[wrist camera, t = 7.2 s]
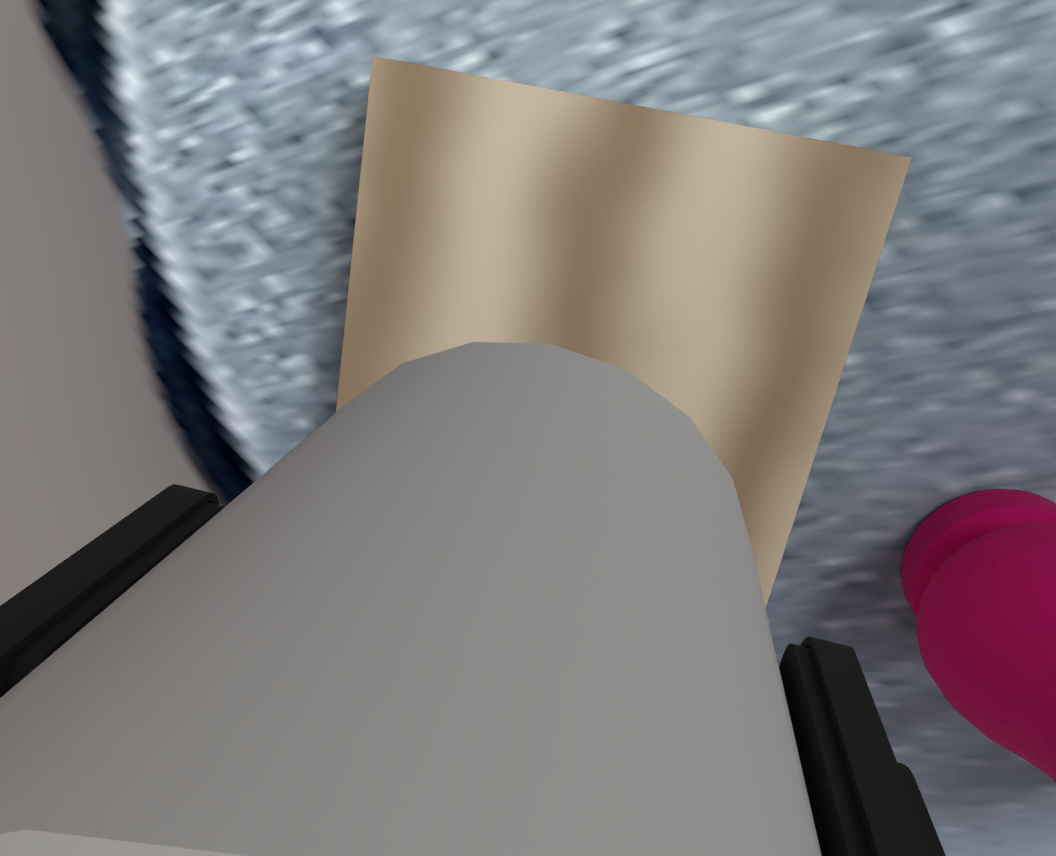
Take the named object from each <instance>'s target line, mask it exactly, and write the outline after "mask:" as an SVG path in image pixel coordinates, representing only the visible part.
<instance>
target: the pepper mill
mask: <svg viewBox="0 0 1056 856" xmlns="http://www.w3.org/2000/svg"><path fill="white" fill-rule="evenodd" d="M901 579H902V586H903V589H904V593H905V596H906V598H907V600H908V602H909V604H910V606H911V608H912V610H913V612H914V613H915V615H916V617H917V638H918V643H919V648H920V652H921V656H922V659H923V661H924V664H925V666H926V669H927V670H928V672H929V674H930V675H931V677H932V678H933V680H934V681H935V683H936V684H937V686H938V687H939V689H940V690H941V692H942V693H943V695H944V696H945V698H946V699H947V700H948V701H949V702H950V704H951V705H952V706H953V707H954V708H955V709H956V710H957V711H958V712H959V713H960V714H961V715H962V716H963V717H964V718H966V719H967V720H968V721H969V722H970V723H972V724H973V725H974V726H975V727H976V728H978V729H979V730H980V731H981V732H982V733H984V734H985V735H986V736H987V737H988V738H990V739H991V740H993V741H995V742H996V743H998V744H1000V745H1002V746H1003V747H1005V748H1007V749H1008V750H1010V751H1012V752H1014V753H1015V754H1017V755H1019V756H1020V757H1022V758H1024V759H1026V760H1027V761H1029V762H1030V763H1032V764H1033V765H1035V766H1036V767H1038V768H1039V769H1041V770H1042V771H1044V772H1045V773H1047V774H1048V775H1049V776H1050V777H1051V778H1053V779H1054V780H1055V781H1056V504H1055V503H1053V502H1052V501H1049V500H1047V499H1045V498H1043V497H1041V496H1039V495H1036V494H1033V493H1030V492H1026V491H1020V490H1009V489H995V490H984V491H979V492H975V493H971V494H968V495H965V496H962V497H960V498H957V499H955V500H953V501H950V502H949V503H947V504H945V505H943V506H942V507H940V508H939V509H937V510H936V511H935V512H933V513H932V514H931V515H930V516H929V517H927V518H926V519H925V520H924V521H923V522H922V523H921V524H920V526H919V527H918V528H917V529H916V531H915V532H914V534H913V535H912V537H911V538H910V540H909V543H908V545H907V547H906V549H905V552H904V555H903V559H902V565H901Z"/></svg>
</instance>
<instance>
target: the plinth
mask: <svg viewBox="0 0 1056 856" xmlns="http://www.w3.org/2000/svg"><path fill="white" fill-rule="evenodd" d="M911 159H912V157H907V156H902V155H897V154H891V153H886V152H881V151H875V150H870V149H865V148H859V147H854V146H849V145H843V144H838V143H833V142H828V141H822V140H817V139H812V138H806V137H801V136H796V135H790V134H785V133H780V132H774V131H769V130H764V129H758V128H753V127H748V126H742V125H737V124H732V123H726V122H721V121H716V120H710V119H705V118H700V117H694V116H689V115H684V114H678V113H673V112H668V111H663V110H657V109H652V108H647V107H641V106H636V105H631V104H625V103H620V102H615V101H609V100H604V99H599V98H593V97H588V96H583V95H577V94H572V93H567V92H561V91H556V90H551V89H545V88H540V87H535V86H529V85H524V84H519V83H514V82H508V81H503V80H498V79H492V78H487V77H482V76H476V75H471V74H466V73H460V72H455V71H450V70H444V69H439V68H434V67H428V66H423V65H418V64H412V63H407V62H402V61H396V60H391V59H386V58H380V57H375V56H373V57H372V66H371V76H370V86H369V95H368V105H367V115H366V125H365V134H364V144H363V154H362V163H361V173H360V183H359V192H358V202H357V212H356V221H355V231H354V241H353V250H352V260H351V270H350V279H349V289H348V299H347V308H346V318H345V328H344V337H343V347H342V357H341V367H340V376H339V386H338V396H337V405H336V412H337V411H339V410H340V409H341V408H342V407H343V406H345V405H346V404H347V403H348V402H350V401H351V400H353V399H354V398H355V397H357V396H358V395H359V394H361V393H362V392H363V391H365V390H366V389H368V388H369V387H370V386H372V385H373V384H374V383H376V382H377V381H378V380H380V379H381V378H383V377H384V376H385V375H387V374H388V373H389V372H391V371H392V370H393V369H395V368H396V367H398V366H399V365H400V364H402V363H405V362H408V361H411V360H415V359H418V358H421V357H424V356H428V355H431V354H434V353H438V352H441V351H444V350H448V349H451V348H454V347H457V346H461V345H464V344H467V343H471V342H498V343H539V344H553V345H556V346H559V347H561V348H564V349H567V350H570V351H573V352H576V353H579V354H582V355H585V356H588V357H591V358H593V359H596V360H599V361H602V362H605V363H608V364H611V365H614V366H617V367H620V368H622V369H625V370H627V371H628V372H630V373H631V374H633V375H634V376H635V377H637V378H638V379H639V380H641V381H642V382H643V383H645V384H646V385H647V386H649V387H650V388H651V389H653V390H654V391H655V392H657V393H658V394H659V395H661V396H662V397H663V398H665V399H666V400H668V401H669V402H670V403H672V404H673V405H674V406H676V407H677V408H678V409H680V410H681V411H682V412H684V413H685V414H686V415H688V416H689V417H690V418H691V420H692V421H693V423H694V424H695V425H696V427H697V428H698V430H699V431H700V433H701V434H702V435H703V437H704V438H705V440H706V441H707V443H708V444H709V445H710V447H711V448H712V450H713V451H714V452H715V454H716V455H717V457H718V458H719V460H720V461H721V462H722V464H723V465H724V467H725V468H726V470H727V471H728V472H729V474H730V475H731V477H732V478H733V481H734V485H735V489H736V492H737V496H738V499H739V503H740V506H741V510H742V514H743V517H744V521H745V524H746V528H747V532H748V535H749V539H750V542H751V546H752V550H753V555H754V559H755V563H756V568H757V572H758V577H759V581H760V585H761V590H762V594H763V599H764V603H765V608H766V606H767V603H768V600H769V597H770V594H771V590H772V587H773V584H774V581H775V578H776V575H777V572H778V569H779V566H780V563H781V560H782V557H783V553H784V550H785V547H786V544H787V541H788V538H789V535H790V532H791V529H792V526H793V523H794V520H795V516H796V513H797V510H798V507H799V504H800V501H801V498H802V495H803V492H804V489H805V486H806V483H807V479H808V476H809V473H810V470H811V467H812V464H813V461H814V458H815V455H816V452H817V449H818V445H819V442H820V439H821V436H822V433H823V430H824V427H825V424H826V421H827V418H828V415H829V412H830V408H831V405H832V402H833V399H834V396H835V393H836V390H837V387H838V384H839V381H840V378H841V375H842V371H843V368H844V365H845V362H846V359H847V356H848V353H849V350H850V347H851V344H852V341H853V338H854V334H855V331H856V328H857V325H858V322H859V319H860V316H861V313H862V310H863V307H864V304H865V301H866V297H867V294H868V291H869V288H870V285H871V282H872V279H873V276H874V273H875V270H876V267H877V264H878V260H879V257H880V254H881V251H882V248H883V245H884V242H885V239H886V236H887V233H888V230H889V227H890V223H891V220H892V217H893V214H894V211H895V208H896V205H897V202H898V199H899V196H900V193H901V190H902V186H903V183H904V180H905V177H906V174H907V171H908V168H909V165H910V162H911Z"/></svg>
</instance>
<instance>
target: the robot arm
mask: <svg viewBox="0 0 1056 856" xmlns="http://www.w3.org/2000/svg"><path fill="white" fill-rule="evenodd" d="M223 508H225V507H223V506H219V502H218V498H217V496H216V495H215V494H214V493H210V492H206V491H201V490H197V489H193V488H188V487H185V486H181V485H175V484H174V485H171V486H169V487H168V488H166V489H165V490H163V491H162V492H160V493H159V494H158V495H156V496H155V497H153V498H152V499H151V500H149V501H148V502H146V503H145V504H144V505H142V506H141V507H139V508H138V509H137V510H135V511H134V512H132V513H131V514H129V515H128V516H127V517H125V518H124V519H122V520H121V521H119V522H118V523H117V524H115V525H114V526H113V527H111V528H110V529H109V530H107V531H105V532H104V533H103V534H101V535H100V536H99V537H97V538H95V539H94V540H93V541H91V542H90V543H88V544H87V545H86V546H84V547H83V548H81V549H80V550H79V551H77V552H76V553H74V554H73V555H71V556H70V557H69V558H67V559H66V560H64V561H63V562H62V563H60V564H59V565H57V566H56V567H55V568H53V569H52V570H50V571H49V572H48V573H46V574H45V575H43V576H42V577H40V578H39V579H38V580H36V581H35V582H34V583H32V584H31V585H29V586H28V587H26V588H25V589H24V590H22V591H21V592H19V593H18V594H16V595H15V596H14V597H12V598H11V599H9V600H8V601H7V602H5V603H4V604H2V605H1V606H0V698H1V697H2V696H3V695H5V694H6V693H7V692H8V691H9V690H10V689H12V688H13V687H14V686H15V685H16V684H18V683H19V682H20V681H21V680H22V679H23V678H25V677H26V676H27V675H28V674H29V673H30V672H32V671H33V670H34V669H35V668H36V667H38V666H39V665H40V664H41V663H42V662H43V661H45V660H46V659H47V658H48V657H49V656H50V655H52V654H53V653H54V652H55V651H56V650H58V649H59V648H60V647H61V646H62V645H63V644H65V643H66V642H67V641H68V640H69V639H70V638H72V637H73V636H74V635H75V634H76V633H78V632H79V631H80V630H81V629H82V628H83V627H85V626H86V625H87V624H88V623H89V622H90V621H92V620H93V619H94V618H95V617H96V616H98V615H99V614H100V613H101V612H102V611H103V610H105V609H106V608H107V607H108V606H109V605H110V604H112V603H113V602H114V601H115V600H116V599H118V598H119V597H120V596H121V595H122V594H123V593H125V592H126V591H127V590H128V589H129V588H130V587H132V586H133V585H134V584H135V583H136V582H138V581H139V580H140V579H141V578H142V577H143V576H145V575H146V574H147V573H148V572H149V571H150V570H152V569H153V568H154V567H155V566H156V565H158V564H159V563H160V562H161V561H162V560H163V559H165V558H166V557H167V556H168V555H169V554H170V553H172V552H173V551H174V550H175V549H176V548H178V547H179V546H180V545H181V544H182V543H183V542H185V541H186V540H187V539H188V538H189V537H190V536H192V535H193V534H194V533H195V532H196V531H198V530H199V529H200V528H201V527H202V526H203V525H205V524H206V523H207V522H208V521H209V520H210V519H212V518H213V517H214V516H215V515H216V514H218V513H219V512H220V511H221V510H222V509H223ZM779 669H780V674H781V678H782V683H783V687H784V692H785V696H786V700H787V705H788V709H789V714H790V718H791V722H792V727H793V731H794V736H795V740H796V745H797V749H798V753H799V758H800V762H801V767H802V771H803V775H804V780H805V784H806V789H807V793H808V798H809V802H810V806H811V811H812V815H813V820H814V824H815V828H816V833H817V837H818V842H819V846H820V851H821V855H822V856H945V853H944V851H943V848H942V846H941V843H940V841H939V838H938V836H937V833H936V831H935V828H934V826H933V823H932V821H931V818H930V816H929V813H928V811H927V808H926V806H925V803H924V801H923V798H922V795H921V793H920V790H919V788H918V785H917V783H916V780H915V778H914V776H913V774H912V773H911V771H910V769H909V768H908V767H907V766H905V765H904V764H902V763H898V762H897V761H896V759H895V756H894V753H893V751H892V748H891V746H890V743H889V740H888V738H887V735H886V732H885V730H884V727H883V725H882V722H881V719H880V717H879V714H878V711H877V709H876V706H875V704H874V701H873V698H872V696H871V693H870V690H869V688H868V685H867V683H866V680H865V677H864V675H863V672H862V670H861V667H860V664H859V662H858V659H857V656H856V654H855V652H854V650H853V648H852V647H849V646H845V645H841V644H837V643H833V642H829V641H825V640H820V639H816V638H812V637H807V638H805V639H804V641H803V642H802V644H801V646H799V645H794V644H789V645H788V646H787V648H786V650H785V652H784V654H783V657H782V660H781V663H780V666H779Z"/></svg>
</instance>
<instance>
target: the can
mask: <svg viewBox="0 0 1056 856" xmlns="http://www.w3.org/2000/svg"><path fill="white" fill-rule="evenodd" d="M0 856H822V855H821V851H820V846H819V842H818V837H817V833H816V828H815V824H814V820H813V815H812V811H811V806H810V802H809V798H808V793H807V789H806V784H805V780H804V775H803V771H802V767H801V762H800V758H799V753H798V749H797V745H796V740H795V736H794V731H793V727H792V722H791V718H790V714H789V709H788V705H787V700H786V696H785V692H784V687H783V683H782V678H781V674H780V669H779V665H778V661H777V656H776V652H775V647H774V643H773V638H772V634H771V630H770V625H769V621H768V616H767V612H766V608H765V603H764V599H763V594H762V590H761V585H760V581H759V577H758V572H757V568H756V563H755V559H754V555H753V550H752V546H751V542H750V539H749V535H748V532H747V528H746V524H745V521H744V517H743V514H742V510H741V506H740V503H739V499H738V496H737V492H736V489H735V485H734V481H733V478H732V477H731V475H730V474H729V472H728V471H727V470H726V468H725V467H724V465H723V464H722V462H721V461H720V460H719V458H718V457H717V455H716V454H715V452H714V451H713V450H712V448H711V447H710V445H709V444H708V443H707V441H706V440H705V438H704V437H703V435H702V434H701V433H700V431H699V430H698V428H697V427H696V425H695V424H694V423H693V421H692V420H691V418H690V417H689V416H688V415H686V414H685V413H684V412H682V411H681V410H680V409H678V408H677V407H676V406H674V405H673V404H672V403H670V402H669V401H668V400H666V399H665V398H663V397H662V396H661V395H659V394H658V393H657V392H655V391H654V390H653V389H651V388H650V387H649V386H647V385H646V384H645V383H643V382H642V381H641V380H639V379H638V378H637V377H635V376H634V375H633V374H631V373H630V372H628V371H627V370H625V369H622V368H620V367H617V366H614V365H611V364H608V363H605V362H602V361H599V360H596V359H593V358H591V357H588V356H585V355H582V354H579V353H576V352H573V351H570V350H567V349H564V348H561V347H559V346H556V345H553V344H539V343H498V342H471V343H467V344H464V345H461V346H457V347H454V348H451V349H448V350H444V351H441V352H438V353H434V354H431V355H428V356H424V357H421V358H418V359H415V360H411V361H408V362H405V363H402V364H400V365H399V366H398V367H396V368H395V369H393V370H392V371H391V372H389V373H388V374H387V375H385V376H384V377H383V378H381V379H380V380H378V381H377V382H376V383H374V384H373V385H372V386H370V387H369V388H368V389H366V390H365V391H363V392H362V393H361V394H359V395H358V396H357V397H355V398H354V399H353V400H351V401H350V402H348V403H347V404H346V405H345V406H343V407H342V408H341V409H340V410H339V411H337V412H336V413H335V414H334V415H333V416H332V417H330V418H329V419H328V420H327V421H326V422H325V423H323V424H322V425H321V426H320V427H319V428H317V429H316V430H315V431H314V432H313V433H312V434H310V435H309V436H308V437H307V438H306V439H305V440H303V441H302V442H301V443H300V444H299V445H297V446H296V447H295V448H294V449H293V450H292V451H290V452H289V453H288V454H287V455H286V456H285V457H283V458H282V459H281V460H280V461H279V462H277V463H276V464H275V465H274V466H273V467H272V468H270V469H269V470H268V471H267V472H266V473H265V474H263V475H262V476H261V477H260V478H259V479H258V480H256V481H255V482H254V483H253V484H252V485H250V486H249V487H248V488H247V489H246V490H245V491H243V492H242V493H241V494H240V495H239V496H238V497H236V498H235V499H234V500H233V501H232V502H230V503H229V504H228V505H227V506H226V507H225V508H223V509H222V510H221V511H220V512H219V513H218V514H216V515H215V516H214V517H213V518H212V519H210V520H209V521H208V522H207V523H206V524H205V525H203V526H202V527H201V528H200V529H199V530H198V531H196V532H195V533H194V534H193V535H192V536H190V537H189V538H188V539H187V540H186V541H185V542H183V543H182V544H181V545H180V546H179V547H178V548H176V549H175V550H174V551H173V552H172V553H170V554H169V555H168V556H167V557H166V558H165V559H163V560H162V561H161V562H160V563H159V564H158V565H156V566H155V567H154V568H153V569H152V570H150V571H149V572H148V573H147V574H146V575H145V576H143V577H142V578H141V579H140V580H139V581H138V582H136V583H135V584H134V585H133V586H132V587H130V588H129V589H128V590H127V591H126V592H125V593H123V594H122V595H121V596H120V597H119V598H118V599H116V600H115V601H114V602H113V603H112V604H110V605H109V606H108V607H107V608H106V609H105V610H103V611H102V612H101V613H100V614H99V615H98V616H96V617H95V618H94V619H93V620H92V621H90V622H89V623H88V624H87V625H86V626H85V627H83V628H82V629H81V630H80V631H79V632H78V633H76V634H75V635H74V636H73V637H72V638H70V639H69V640H68V641H67V642H66V643H65V644H63V645H62V646H61V647H60V648H59V649H58V650H56V651H55V652H54V653H53V654H52V655H50V656H49V657H48V658H47V659H46V660H45V661H43V662H42V663H41V664H40V665H39V666H38V667H36V668H35V669H34V670H33V671H32V672H30V673H29V674H28V675H27V676H26V677H25V678H23V679H22V680H21V681H20V682H19V683H18V684H16V685H15V686H14V687H13V688H12V689H10V690H9V691H8V692H7V693H6V694H5V695H3V696H2V697H1V698H0Z"/></svg>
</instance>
